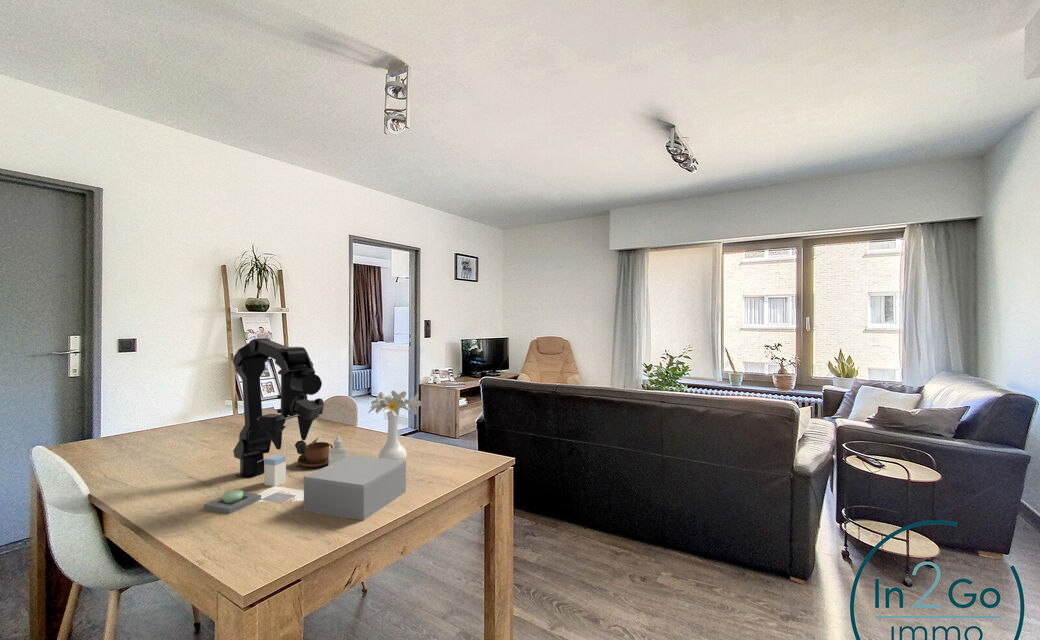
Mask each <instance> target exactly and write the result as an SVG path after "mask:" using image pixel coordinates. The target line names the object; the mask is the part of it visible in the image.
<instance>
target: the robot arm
mask: <svg viewBox="0 0 1040 640" xmlns="http://www.w3.org/2000/svg"><path fill="white" fill-rule="evenodd" d="M269 358H271V359H273V360H275V361H274V364H275V365H276V366H278V367H279V368H280V370H278V372H277V374H278V375H280V394H277V398H276V399H277V400H278V399H279V400H280V408H277V410H276V413H267V414H263V408H262V407H263V406H262V390H261V387H262V386H261V376H262V374H263V372H265V369H266V362H267V361H268V360H269ZM232 359H233V360H232V361H233V362H232V363H233V365H234V368H235V372H236V374H237V375H238V377H240V378H241V380H242V381H241V383H242V397H243V414H244V425H243V427H242V429H241V431H240V433H239V435H238V439H239V440H238V442H237V444H236V445H235V446H234V449H233V450H232V451H233V456H234V458H235V459H238V460H239V472H238V473H236V474H235V477H238V478H245V479H253V478H255V477H258V476H261V475H264V459H265V454H269V453H270V449H271V445H272V443H273V445H274V447H275V449H276V450H281V449H282V444H283V443H282V442H283V431H284V429H285V428H286V427H287V426H286V425H285V423H286V421H287V420H290V419H293V418H294V419H295V418H297V423H298V427H299V434H300V438H301V440H303V441H305V440H307V437H308V434H309V431H310V429H311V426H312V424H313V422H314V421H315V420H316V419H317V418H319V417H320V416H321V415H322V414H323V413H324V411H323V410H324V405H325V404H324V400H323V398H320V397H318V398H316V399H314V400H313V399H311V400H309V399H308V396H313V395H316V394H318V392H319V391H320V390H321V388H322V385H323V384H322V383H323V382H322V379H321V378H320V375H317V374H316V370H315V369H314V363H313V361H312V360H311V358H310V356H309V353H308V352H307V350H306V348H305V347H302V346H286V345H283V344H281V343H277V342H275V341H273V340H271V339H270V338H267V337H266V338H253V339H251V340H250V341H249V343H247V344H245V345H244V346H242V347H240V348H238V350H237V352H236V353H235V354H234V356H233V358H232Z"/></svg>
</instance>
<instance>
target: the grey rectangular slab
mask: <svg viewBox="0 0 1040 640" xmlns="http://www.w3.org/2000/svg"><path fill="white" fill-rule="evenodd" d="M303 491H304V501H303V511H305V512H311V513H315V514H316V513H317V514H324V515H330V516H333V517H340V518H348V519H353V520H360V521H365V520H367V519H368V518H370V517H371V516H373V515H374V514H376V513H377V512H379V511H380V510H382V509H383V508H385V507H386V506H387V505H389V504H390V503H392V502H393V501H395V500H396V499H398V498H399V497H401V496H402V495H404V494H405V493H406V492H407V462H406V460H404V461H401V460H392V459H384V458H378V457H374V456H373V457H372V456H366V455H365V456H364V455H357V454H356V455H355V454H351V455H348V457H346V458H344V459H342V460H340V461H337V462H335V463H333V464H331V465H329V464H327V466H324V467H322V468H320V469H318V470H315V471H313V472H311V473H309V474H306V475H304V476H303Z"/></svg>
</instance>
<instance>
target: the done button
mask: <svg viewBox="0 0 1040 640" xmlns="http://www.w3.org/2000/svg"><path fill="white" fill-rule="evenodd" d="M243 492H244V490H239V489H237V490H230V491H227V492H225V493H224V494H222V497H223V502H224V503H225V504H234V503H237V502H239V501H241V500H242V499H243Z"/></svg>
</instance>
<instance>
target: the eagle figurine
mask: <svg viewBox="0 0 1040 640" xmlns="http://www.w3.org/2000/svg"><path fill="white" fill-rule="evenodd" d="M318 439H319V436H318V437H317V438H316V439H314V440H313V441H312V442H311V443H310V444H311V445H310V448H309V449H311V448H312V446H313V445H314V444H315V443H316V442H318ZM306 445H307V442H306V441H305V440H302V439H301V440H298V441H296V442H295V444H294V447H295V449H296V453H298V454H299V456H298V458H299V457H301V456H303V459H304V460H305V457H306ZM299 466H302V465H301V464H299V463H298V464H297V465H296V467H299Z"/></svg>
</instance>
